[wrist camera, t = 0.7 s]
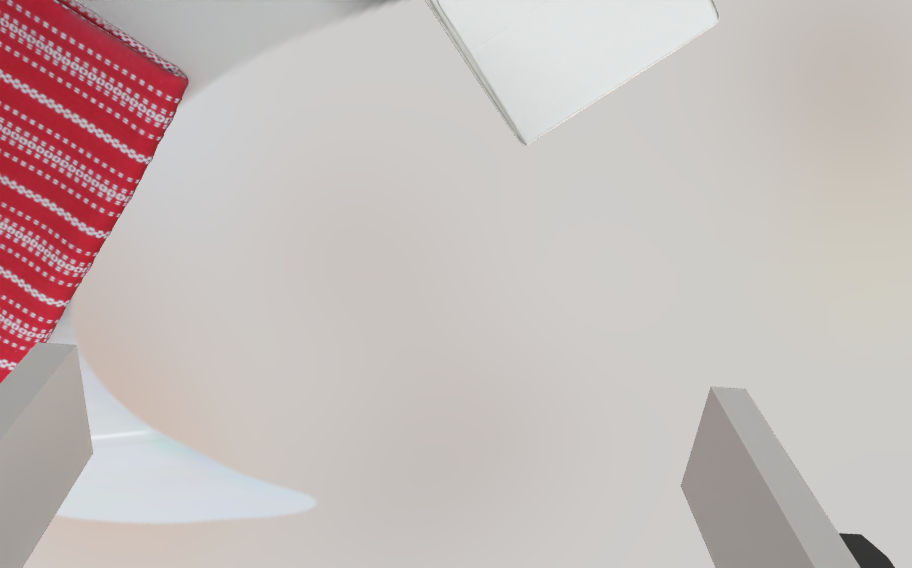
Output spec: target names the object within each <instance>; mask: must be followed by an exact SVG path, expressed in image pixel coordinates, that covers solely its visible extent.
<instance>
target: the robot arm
mask: <svg viewBox="0 0 912 568" xmlns="http://www.w3.org/2000/svg"><path fill="white" fill-rule="evenodd" d="M92 454H93V449H92V443H91V436H90V430H89V423H88V417H87V410H86V404H85V397H84V391H83V384H82V378H81V371H80V365H79V358H78V352H77V345H68V344H52V343H36V344H35V345H34V347H33V348H32V349H31V350H30V351H29V352H28V353H27V354H26V355H25V357H24V358H23V359H22V360H21V361H20V362H19V363H18V364H17V366H16V367H15V368H14V369H13V370H12V371H11V372H10V373H9V374H8V376H7V377H6V378H5V379H4V380H3V381H2V382H1V383H0V568H23V566H24V564H25V563H26V561H27V560H28V558H29V556H30V555H31V553H32V552H33V550H34V548H35V546H36V545H37V543H38V542H39V540H40V538H41V537H42V535H43V534H44V532H45V530H46V529H47V527H48V525H49V524H50V522H51V520H52V519H53V517H54V516H55V514H56V512H57V511H58V509H59V508H60V506H61V504H62V503H63V501H64V499H65V498H66V496H67V495H68V493H69V491H70V490H71V488H72V486H73V485H74V483H75V482H76V480H77V478H78V477H79V475H80V473H81V472H82V470H83V469H84V467H85V465H86V464H87V462H88V460H89V459H90V457H91V456H92ZM681 487H682V490H683V492H684V494H685V497H686V499H687V501H688V503H689V506H690V508H691V511H692V513H693V516H694V518H695V520H696V523H697V525H698V527H699V530H700V532H701V534H702V537H703V539H704V541H705V544H706V546H707V548H708V551H709V553H710V556H711V558H712V560H713V562H714V565H715V567H716V568H895V567H894V566H893V564H892V563H891V561H890V560H889V559H888V558H887V556H885V555H884V554H883V553H882V552H881V551H880V550H878V549H877V548H876V547H875V546H874V545H873V544H872V543H870V542H869V541H868V540H867V539H866V538H864V537H863V536H862V535H860V534H841V533H838V532H837V530H836V529H835V527H834V526H833V524H832V523H831V521H830V519H829V518H828V516H827V515H826V513H825V512H824V510H823V509H822V507H821V506H820V504H819V502H818V501H817V499H816V498H815V496H814V495H813V493H812V492H811V490H810V488H809V487H808V485H807V484H806V482H805V481H804V479H803V478H802V476H801V474H800V473H799V471H798V470H797V468H796V467H795V465H794V464H793V462H792V460H791V459H790V457H789V456H788V454H787V453H786V451H785V450H784V448H783V446H782V445H781V444H780V442H779V440H778V439H777V437H776V435H775V434H774V433H773V431H772V429H771V428H770V426H769V425H768V423H767V421H766V420H765V419H764V417H763V415H762V414H761V412H760V411H759V409H758V407H757V406H756V405H755V403H754V401H753V400H752V398H751V397H750V395H749V394H748V392H747V390H746V389H738V388H722V387H711V388H710V391H709V394H708V398H707V401H706V404H705V408H704V411H703V414H702V418H701V421H700V424H699V428H698V431H697V434H696V438H695V441H694V444H693V448H692V451H691V454H690V458H689V461H688V464H687V467H686V471H685V474H684V477H683V481H682V484H681Z"/></svg>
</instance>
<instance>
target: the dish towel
mask: <svg viewBox="0 0 912 568" xmlns="http://www.w3.org/2000/svg"><path fill="white" fill-rule="evenodd" d="M187 85H188V78H187V77H186V76H184V75H183V74H182V72H181V71H180V70H179V68H178V67H176V66H174V65H173V64H171V63H168V62H166V61H164V60H163V59H161V58H159V57H158V56H157V55H156V54H155V53H153V52H151V51H150V50H148V49H147V48H146V47H145V46H143V45H141V44H140V43H139V42H138V41H136V40H134V39H132V38H131V37H130V36H128V35H126V34H125V33H123V32H122V31H121V30H119V29H117V28H115V27H114V26H113V25H111V24H110V23H108V22H107V21H105V20H104V19H103V18H101V17H99V16H98V15H97V14H96V13H94V12H92V11H90V10H89V9H88V8H86V7H84V6H82V5H81V4H79V3H78V2H76V1H75V0H0V383H1V382H2V381H3V380H4V379H5V378H6V377H7V376H8V374H9V373H10V372H11V371H12V370H13V369H14V368H15V367H16V366H17V364H18V363H19V362H20V361H21V360H22V359H23V358H24V357H25V355H26V354H27V353H28V352H29V351H30V350H31V349H32V348H33V347H34V345H35V344H36V343H46V341H47V340H48V339H49V337H50V336H51V334H52V333H53V330H54V329H55V327H56V324H57V322H58V321H59V320H60V318H61V316H62V314H63V312H64V310H65V308H66V306H67V304H68V303H69V302H70V300H71V298H72V296H73V294H74V293H75V291H76V289H77V287H78V286H79V284H80V283H81V282H82V279H83V277H84V276H85V274H86V273H87V272H88V271H89V270H90V268H91V266H92V264H93V261H94V258H95V257H96V255H97V254H98V252H99V251H100V248H101V246H102V245H103V243H104V241H105V240H106V238H107V237H108V236H109V235H110V233H111V231H112V228H113V227H114V225H115V223H116V221H117V220H118V218H119V216H120V215H121V214H122V212H123V210H124V208H125V206H126V205H127V203H128V202H129V201H130V200H131V198H132V196H133V193H134V192H135V189H136V187H137V185H138V183H139V182H140V180H141V178H142V176H143V174H144V171H145V170H146V168H147V166H148V164H149V163H150V162H151V161H152V159H153V156H154V153H155V151H156V148H157V145H158V144H159V142H160V141H161V139H162V138H163V136H164V133H165V131H166V129H167V127H168V126H169V124H170V123H171V122H172V120H173V117H174V115H175V113H176V109H177V106H178V104H179V103H180V101H181V100H182V96H183V93H184V91H185V89H186V87H187Z"/></svg>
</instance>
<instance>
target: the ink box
mask: <svg viewBox="0 0 912 568" xmlns="http://www.w3.org/2000/svg"><path fill="white" fill-rule="evenodd" d="M425 1H426V2H427V4H428V6H429V7H430V9H431V10H432V11H433V13H434V15H435V16H436V18H437V19H438V21H439V22H440V24H441V25H442V27H443V28H444V30H445V31H446V33H447V34H448V36H449V37H450V39H451V40H452V42H453V43H454V45H455V47H456V48H457V50H458V51H459V53H460V54H461V56H462V57H463V59H464V60H465V62H466V63H467V65H468V66H469V68H470V70H471V71H472V73H473V74H474V75H475V77H476V79H477V80H478V82H479V83H480V85H481V86H482V88H483V89H484V91H485V92H486V94H487V95H488V97H489V99H490V100H491V102H492V103H493V105H494V106H495V107H496V109H497V110H498V112H499V113H500V115H501V116H502V118H503V119H504V121H505V122H506V124H507V125H508V126H509V128H510V129H511V131H512V132H513V133H514V135H515V136H516V138H517V139H518V141H519V142H520V144H521V145H522V146H527V145H528V144H530V143H531V142H533V141H534V140H536V139H538V138H539V137H541V136H542V135H544V134H545V133H547V132H548V131H550V130H552V129H553V128H555V127H556V126H558V125H560V124H561V123H563V122H564V121H566V120H567V119H569V118H570V117H572V116H574V115H575V114H577V113H578V112H579V111H581V110H583V109H584V108H586V107H588V106H589V105H591V104H592V103H594V102H595V101H597V100H599V99H600V98H602V97H603V96H605V95H607V94H608V93H610V92H611V91H613V90H614V89H616V88H617V87H619V86H621V85H622V84H624V83H625V82H627V81H629V80H630V79H632V78H633V77H635V76H636V75H638V74H640V73H641V72H643V71H644V70H646V69H648V68H649V67H651V66H652V65H654V64H655V63H657V62H659V61H660V60H662V59H663V58H665V57H667V56H668V55H670V54H671V53H673V52H674V51H676V50H678V49H679V48H680V47H682V46H684V45H685V44H687V43H688V42H690V41H691V40H693V39H694V38H696V37H697V36H699V35H701V34H702V33H703V32H705V31H707V30H708V29H710V28H711V27H713V26H714V25H716V24H717V23H718V22H719V20H720V14H719V12H718V9H717V7H716V4H715V1H714V0H425Z"/></svg>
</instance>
